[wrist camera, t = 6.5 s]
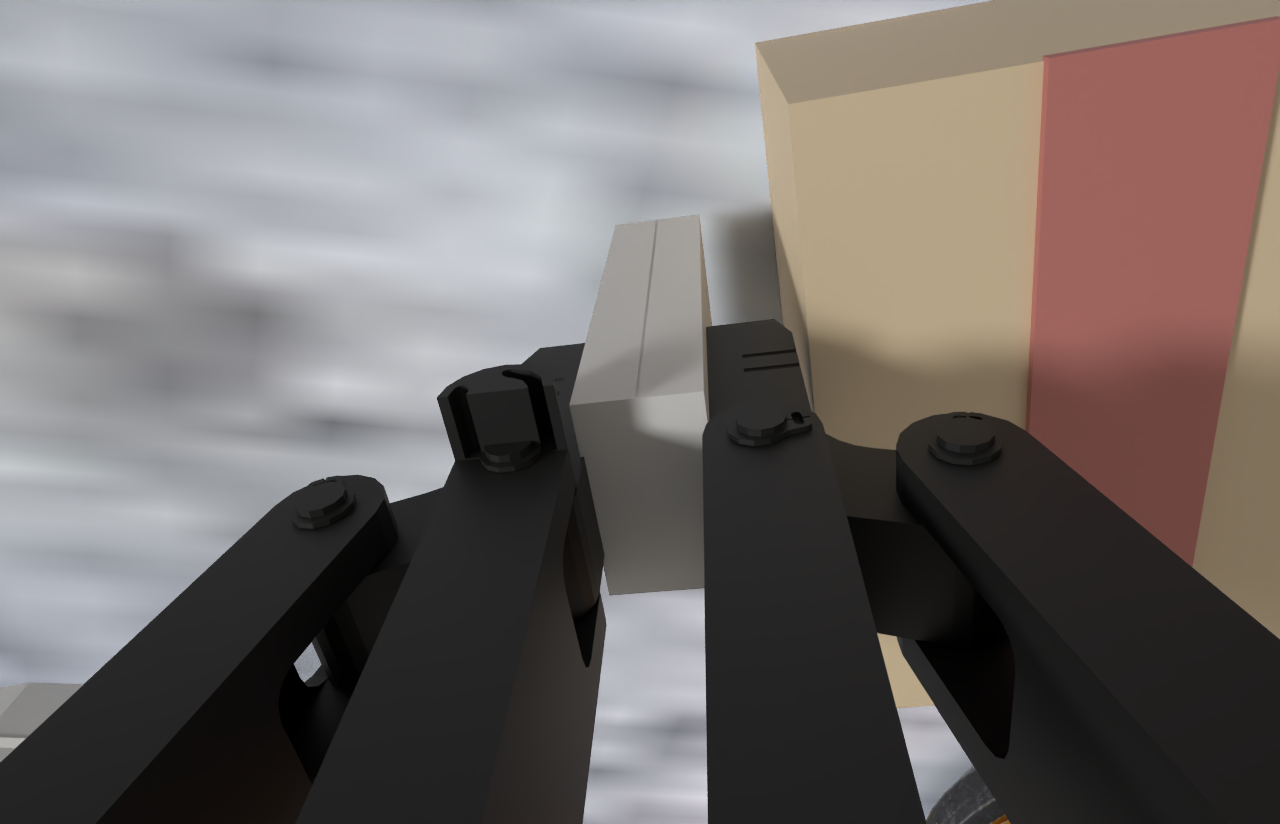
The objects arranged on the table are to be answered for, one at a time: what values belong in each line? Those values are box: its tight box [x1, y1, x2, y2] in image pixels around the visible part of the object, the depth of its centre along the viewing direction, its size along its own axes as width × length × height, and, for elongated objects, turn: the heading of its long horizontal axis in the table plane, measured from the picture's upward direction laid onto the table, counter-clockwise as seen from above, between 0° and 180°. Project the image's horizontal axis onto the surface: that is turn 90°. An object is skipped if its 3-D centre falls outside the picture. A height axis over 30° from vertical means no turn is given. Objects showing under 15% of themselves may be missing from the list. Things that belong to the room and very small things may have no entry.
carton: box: [755, 0, 1280, 708], centre depth 14 cm, size 10×8×6 cm
